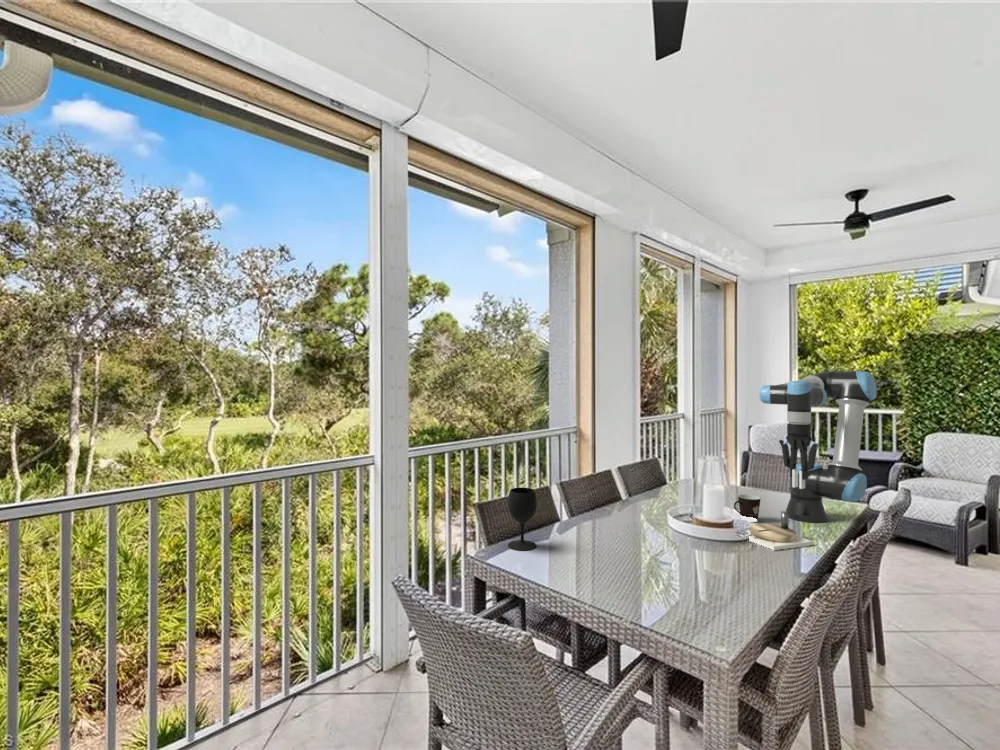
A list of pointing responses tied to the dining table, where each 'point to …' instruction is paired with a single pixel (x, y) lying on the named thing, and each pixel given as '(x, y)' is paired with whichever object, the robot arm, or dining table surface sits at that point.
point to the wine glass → (522, 514)
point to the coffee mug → (748, 505)
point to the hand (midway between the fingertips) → (798, 487)
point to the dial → (775, 530)
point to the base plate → (781, 543)
